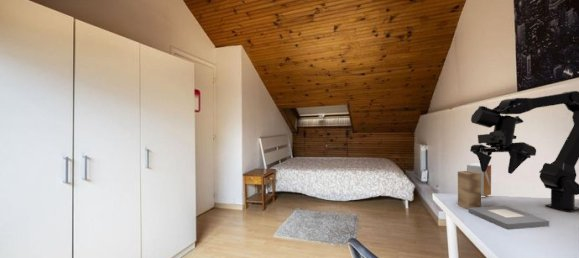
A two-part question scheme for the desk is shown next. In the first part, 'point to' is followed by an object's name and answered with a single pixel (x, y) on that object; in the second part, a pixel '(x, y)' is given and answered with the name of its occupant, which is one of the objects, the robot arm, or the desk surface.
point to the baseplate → (508, 217)
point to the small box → (482, 177)
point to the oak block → (469, 189)
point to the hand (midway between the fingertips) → (495, 172)
